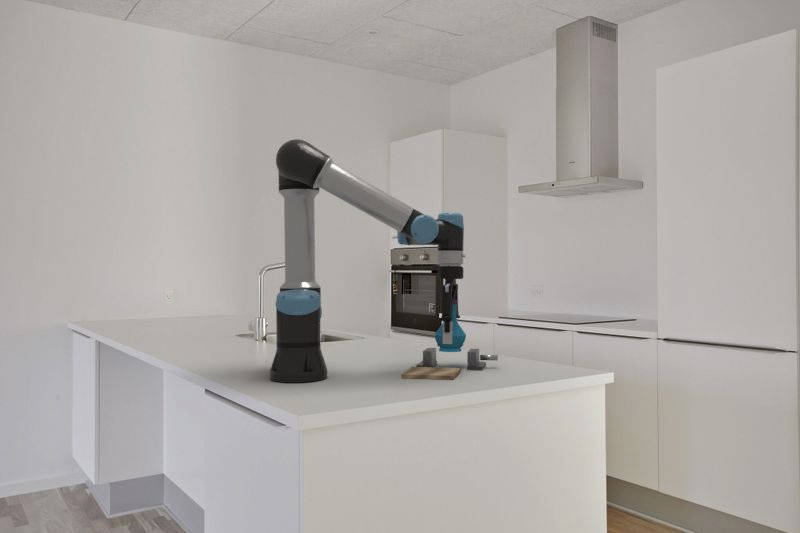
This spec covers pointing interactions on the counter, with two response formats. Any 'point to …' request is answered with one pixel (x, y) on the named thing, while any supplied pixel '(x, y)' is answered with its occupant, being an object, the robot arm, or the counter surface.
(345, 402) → the counter surface
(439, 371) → the pad
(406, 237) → the robot arm
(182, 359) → the counter surface
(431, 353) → the vise
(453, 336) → the blue vase
